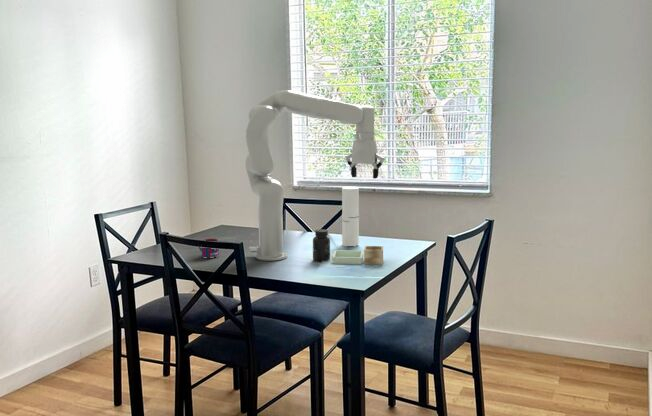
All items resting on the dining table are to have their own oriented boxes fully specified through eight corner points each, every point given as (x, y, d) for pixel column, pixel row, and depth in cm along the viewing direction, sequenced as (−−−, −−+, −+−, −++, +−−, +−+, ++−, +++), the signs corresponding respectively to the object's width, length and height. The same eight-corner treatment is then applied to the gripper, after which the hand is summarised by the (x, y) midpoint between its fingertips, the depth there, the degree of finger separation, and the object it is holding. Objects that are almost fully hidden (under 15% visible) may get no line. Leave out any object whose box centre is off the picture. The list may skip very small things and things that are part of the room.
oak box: (364, 265, 232) (364, 249, 231) (364, 260, 239) (365, 245, 238) (382, 265, 231) (382, 250, 230) (383, 261, 238) (383, 246, 237)
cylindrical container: (358, 246, 263) (359, 188, 259) (342, 246, 263) (342, 188, 259) (358, 242, 270) (358, 186, 266) (342, 243, 270) (342, 186, 266)
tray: (332, 264, 233) (332, 257, 232) (335, 257, 244) (335, 250, 243) (361, 265, 232) (361, 257, 231) (363, 258, 243) (363, 250, 242)
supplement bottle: (309, 261, 238) (309, 231, 236) (317, 257, 244) (317, 228, 242) (325, 263, 235) (325, 232, 233) (333, 259, 241) (333, 229, 239)
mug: (208, 259, 242) (207, 242, 241) (194, 255, 249) (193, 239, 248) (222, 256, 246) (221, 240, 245) (208, 252, 254) (207, 236, 252)
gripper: (342, 136, 253) (342, 177, 256) (380, 137, 245) (380, 179, 248) (350, 135, 260) (349, 175, 262) (387, 136, 252) (387, 177, 254)
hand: (364, 177), depth 255 cm, fingers open, 9 cm apart
